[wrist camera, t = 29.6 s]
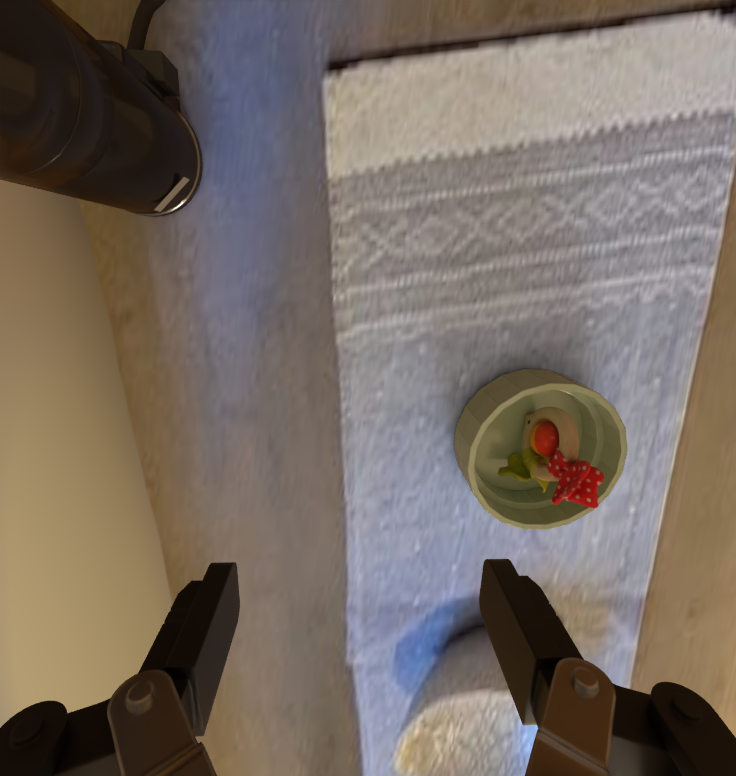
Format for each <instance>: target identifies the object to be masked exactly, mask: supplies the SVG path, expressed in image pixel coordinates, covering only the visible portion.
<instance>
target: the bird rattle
mask: <svg viewBox="0 0 736 776" xmlns="http://www.w3.org/2000/svg"><path fill="white" fill-rule="evenodd" d="M578 454H579V436H578V431H577V428H576V425H575V423H574V421H573V419H572V417H571V416H570V415H569V414H568V413H567V412H566V411H564V410H562V409H560V408H557V407H543V408H540V409H538V410H536V411H535V412H534V413H528V414H526V416H525V427H524V431H523V436H522V456H521V455H520V454H517V453H514V454H511V455H510V456H509V457H508V466H506V467H500V468H499V471H498V474H499V475H501V476H506V475H512V476H513V477H515V478H516V479H518V480H520V481H523V482H527V481H529V480H531V478H532V477H533V478H535V479H536V480H537V481H538V483H539V484H540V485H541V486H542V488H541V492H542V493H545V492H546V489H547V487H548V485H549V483H550V481H552V482H553V481H559V482H558V485H557V487H556V489H555V492H554V495H553V497H552V503H553V504H555V505H557V504H559V503H560V502H561V501H562V500H563V499H566V500H567V501H573V502H576V503H579V504H581V505H584V506H587V507H589V508H597V507H598V494H597V488H598V486H599V485H600V484H601V483H602V482H603V480H604V473H603V472H601V471H600V470H599V469H598V468H596V467H592V466H590V463H589V462H587V461H580V460H579V457H578Z"/></svg>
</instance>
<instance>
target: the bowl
mask: <svg viewBox="0 0 736 776" xmlns="http://www.w3.org/2000/svg"><path fill="white" fill-rule="evenodd" d="M543 407H557V408H560V409H562V410H564V411H566V412H567V413H568V414H569V415H570V416H571V417H572V419H573V421H574V423H575V425H576V428H577V431H578V436H579V454H578V457H579V460H580V461H587V462H589V463H590V466H592V467H596V468H598V469H599V470H600V471H601V472H603V473H604V480H603V482H602V483H601V484H600V485H599V486H598V488H597V494H598V505H599V504H600V503H601V502H602V501H603V500H604V499H605V498H606V497H607V496H608V495H609V494H610V493H611V491H612V489H613V487H614V486H615V484H616V482H617V481H618V479H619V477H620V476H621V474H622V471H623V467H624V463H625V459H626V455H627V440H626V430H625V426H624V424H623V422H622V420H621V418H620V417H619V415H618V413H617V411H616V409H615V407H614V406H612V405H611V404H610V403H609V402H608V401H607V400H606V399H604V398H603V397H602V396H601V395H600V394H599V393H597V392H596V391H594V390H592V389H590V388H588V387H586V386H584V385H582V384H580V383H578V382H576V381H574V380H572V379H570V378H568V377H566V376H563V375H561V374H558V373H555V372H553V371H550V370H545V369H522V370H519V371H515V372H512V373H508V374H504V375H502V376H500V377H498V378H497V379H495V380H493V381H492V382H490V383H489V384H487V385H485V386H484V387H482V388H481V389H480V390H479V391H478V392H477V393H476V395H475V396H474V397H473V398H472V399H471V400H470V401H469V402H468V404H467V405H466V406H465V408H464V410H463V413H462V415H461V417H460V419H459V421H458V424H457V426H456V434H455V443H454V449H455V453H456V458H457V462H458V466H459V468H460V470H461V472H462V474H463V475H464V477H465V479H466V481H467V483H468V485H469V486H470V488H471V490H472V492H473V493H474V495H475V496H476V498H477V499H478V501H479V502H480V504H481V505H482V507H483V508H484V509H485V511H487V512H488V513H490V514H491V515H492V516H494V517H495V518H497V519H498V520H499V521H501V522H502V523H505V524H508V525H512V526H515V527H518V528H521V529H551V528H554V527H558V526H562V525H566V524H569V523H572V522H574V521H575V520H577V519H579V518H581V517H582V516H584V515H586V514H588V513H590V512H591V511H593V510H594V509H595V508H589V507H587V506H584V505H581V504H579V503H576V502H573V501H567V500H566V499H563V500H562V501H561V502H560V503H559V504H557V505H555V504H553V503H552V497H553V495H554V492H555V489H556V487H557V485H558V482H559V481H553V482H552V481H550V483H549V485H548V487H547V489H546V492H545V493H542V492H541V488H542V486H541V485H540V484H539V483H538V481H537V480H536V479H535V478H533V477H532V478H531V480H529V481H527V482H523V481H520V480H518V479H516V478H515V477H513V476H512V475H506V476H501V475H499V474H498V471H499V468H500V467H506V466H508V457H509V456H510V455H511V454H514V453H517V454H520V455H521V456H522V436H523V431H524V427H525V416H526V414H528V413H534V412H535V411H536V410H538V409H540V408H543Z"/></svg>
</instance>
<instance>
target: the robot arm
mask: <svg viewBox="0 0 736 776" xmlns="http://www.w3.org/2000/svg"><path fill="white" fill-rule="evenodd" d="M164 2H165V0H141V2H140V4H139V6H138V8H137V11H136V13H135V16H134V20H133V23H132V27H131V32H130V37H129V41H128V46H127V49H125V48H124V47H123V46H122V45H121V44H119V43H117V42H114V41H104V40H96V39H95V38H94V37H92V36H91V35H90V34H89V33H88V32H87V31H86V30H84V29H83V28H82V27H81V26H80V25H79V24H78V23H77V22H75V21H74V20H73V19H72V18H71V17H70V16H68V15H67V14H66V13H65V12H64V11H63V10H62V9H61V8H59V7H58V6H57V5H56V4H55V3H54V2H53V1H52V0H0V179H1V180H5V181H9V182H13V183H17V184H21V185H25V186H29V187H34V188H38V189H42V190H46V191H50V192H54V193H58V194H63V195H66V196H71V197H75V198H79V199H83V200H87V201H91V202H95V203H99V204H103V205H107V206H111V207H116V208H120V209H124V210H127V211H130V212H132V213H136V214H140V215H144V216H151V217H158V216H165V215H169V214H172V213H174V212H177V211H178V210H180V209H182V208H183V207H184V206H185V205H186V204H188V203H189V201H190V200H191V199H192V198H193V196H194V195H195V193H196V191H197V189H198V187H199V184H200V181H201V176H202V168H203V162H202V153H201V149H200V145H199V142H198V139H197V137H196V135H195V133H194V131H193V129H192V127H191V126H190V124H189V123H188V121H187V120H186V119H185V118H184V117H183V116H182V115H181V111H180V102H179V100H178V99H177V98H176V97H175V96H179V82H178V70H177V69H176V68H175V66H174V65H173V64H172V63H171V62H170V61H169V60H168V58H167V57H166V56H165V55H164V54H163V53H162V52H161V51H148V50H143V48H144V44H145V39H146V35H147V31H148V27H149V24H150V21H151V18H152V16H153V14H154V12H155V11H156V10H157V9H158V8H159V7H160V6H161V5H162V4H163V3H164ZM479 604H480V612H481V616H482V619H483V622H484V625H485V627H486V630H487V632H488V635H489V638H490V640H491V643H492V645H493V648H494V651H495V653H496V656H497V658H498V661H499V664H500V666H501V669H502V672H503V674H504V677H505V679H506V682H507V685H508V687H509V690H510V692H511V695H512V698H513V700H514V703H515V705H516V708H517V711H518V713H519V716H520V719H521V721H522V724H523V725H537V726H538V728H539V729H538V730H537V733H536V737H535V740H534V744H533V748H532V751H531V755H530V759H529V762H528V766H527V770H526V773H525V776H736V738H735V736H734V735H733V734H732V732H731V731H730V730H729V729H728V727H727V726H726V725H725V723H724V722H723V721H722V719H721V718H720V717H719V715H718V714H717V713H716V712H715V710H714V709H713V708H712V707H711V706H710V705H709V704H708V703H707V702H706V701H705V700H704V699H703V698H702V697H701V696H699V695H698V694H696V693H695V692H693V691H692V690H690V689H688V688H686V687H684V686H682V685H679V684H676V683H672V682H660V683H657V684H656V685H655V686H654V687H653V688H652V691H651V695H649V694H645V693H642V692H638V691H634V690H631V689H627V688H623V687H620V686H617V685H615V684H613V683H612V682H611V680H610V679H609V678H608V677H607V675H606V674H605V673H604V672H603V671H602V670H600V669H599V668H598V667H597V666H595V665H594V664H592V663H590V662H588V661H586V660H584V659H583V658H582V656H581V654H580V653H579V651H578V649H577V648H576V646H575V644H574V643H573V641H572V639H571V638H570V636H569V634H568V633H567V631H566V629H565V628H564V626H563V624H562V623H561V621H560V619H559V617H558V616H556V612H555V611H554V609H553V607H552V606H551V604H549V601H548V599H547V597H546V596H545V594H544V592H543V591H542V589H541V588H540V587H539V586H538V585H537V584H536V583H535V582H534V581H533V580H531V579H530V578H529V577H528V576H519V575H518V573H517V572H516V570H515V568H514V566H513V564H512V563H511V561H510V560H509V559H486V560H485V561H484V565H483V572H482V580H481V588H480V597H479ZM239 609H240V599H239V586H238V574H237V565H236V563H235V562H232V563H211V564H210V565H209V567H208V569H207V572H206V574H205V576H204V578H203V581H191V582H190V583H189V584H188V585H187V586H186V587H185V588H184V589H183V590H182V591H181V592H180V593H178V595H177V597H176V599H175V601H174V603H173V605H172V607H171V611H170V612H169V613H168V615H167V617H166V619H165V623H164V624H163V625H162V627H161V629H160V631H159V633H158V635H157V637H156V639H155V641H154V643H153V645H152V647H151V649H150V651H149V653H148V655H147V657H146V659H145V661H144V663H143V665H142V667H141V669H140V671H139V672H138V674H136V675H134V676H133V677H131V678H129V679H128V680H126V681H125V682H124V683H123V684H122V685H121V686H119V688H118V689H117V690H116V691H115V693H114V694H113V695H112V697H111V698H110V699H108V700H106V701H103V702H101V703H98V704H95V705H92V706H89V707H86V708H83V709H80V710H77V711H74V712H71V713H67V710H66V708H65V706H64V705H63V704H62V703H60V702H57V701H44V702H40V703H36V704H34V705H31V706H29V707H27V708H25V709H23V710H22V711H21V712H19V713H17V714H16V715H14V716H13V717H12V718H10V719H9V720H8V721H7V722H6V723H5V724H4V725H3V726H2V727H1V728H0V776H217V775H216V772H215V770H214V768H213V765H212V763H211V760H210V758H209V756H208V753H207V751H206V749H205V747H204V745H203V744H202V742H200V743H198V742H197V740H196V738H195V736H204V733H205V730H206V726H207V723H208V720H209V716H210V713H211V710H212V706H213V703H214V699H215V696H216V693H217V689H218V686H219V683H220V679H221V676H222V673H223V669H224V666H225V663H226V659H227V656H228V653H229V649H230V646H231V643H232V639H233V636H234V632H235V629H236V626H237V622H238V617H239Z"/></svg>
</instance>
